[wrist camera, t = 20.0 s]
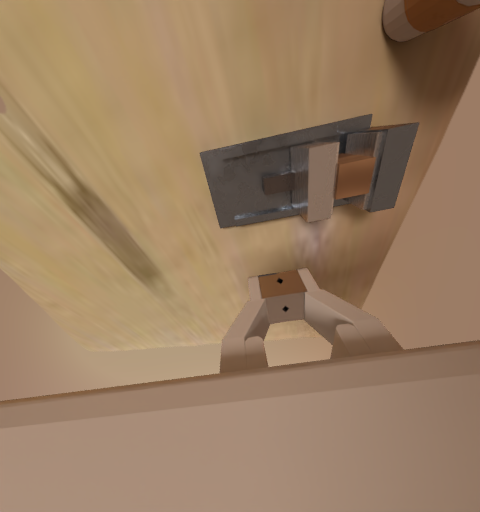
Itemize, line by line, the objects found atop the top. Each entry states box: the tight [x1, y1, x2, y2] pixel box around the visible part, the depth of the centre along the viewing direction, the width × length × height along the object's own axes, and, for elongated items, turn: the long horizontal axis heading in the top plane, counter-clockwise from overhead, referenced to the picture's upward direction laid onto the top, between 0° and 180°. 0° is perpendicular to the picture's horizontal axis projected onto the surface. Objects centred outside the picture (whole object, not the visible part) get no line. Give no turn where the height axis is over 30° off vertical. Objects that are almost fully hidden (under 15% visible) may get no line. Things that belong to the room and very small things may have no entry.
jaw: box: [262, 142, 340, 223], centre depth 24 cm, size 9×8×7 cm
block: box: [334, 153, 376, 199], centre depth 24 cm, size 4×4×8 cm
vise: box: [200, 114, 419, 228], centre depth 25 cm, size 12×24×9 cm, turn 101°
